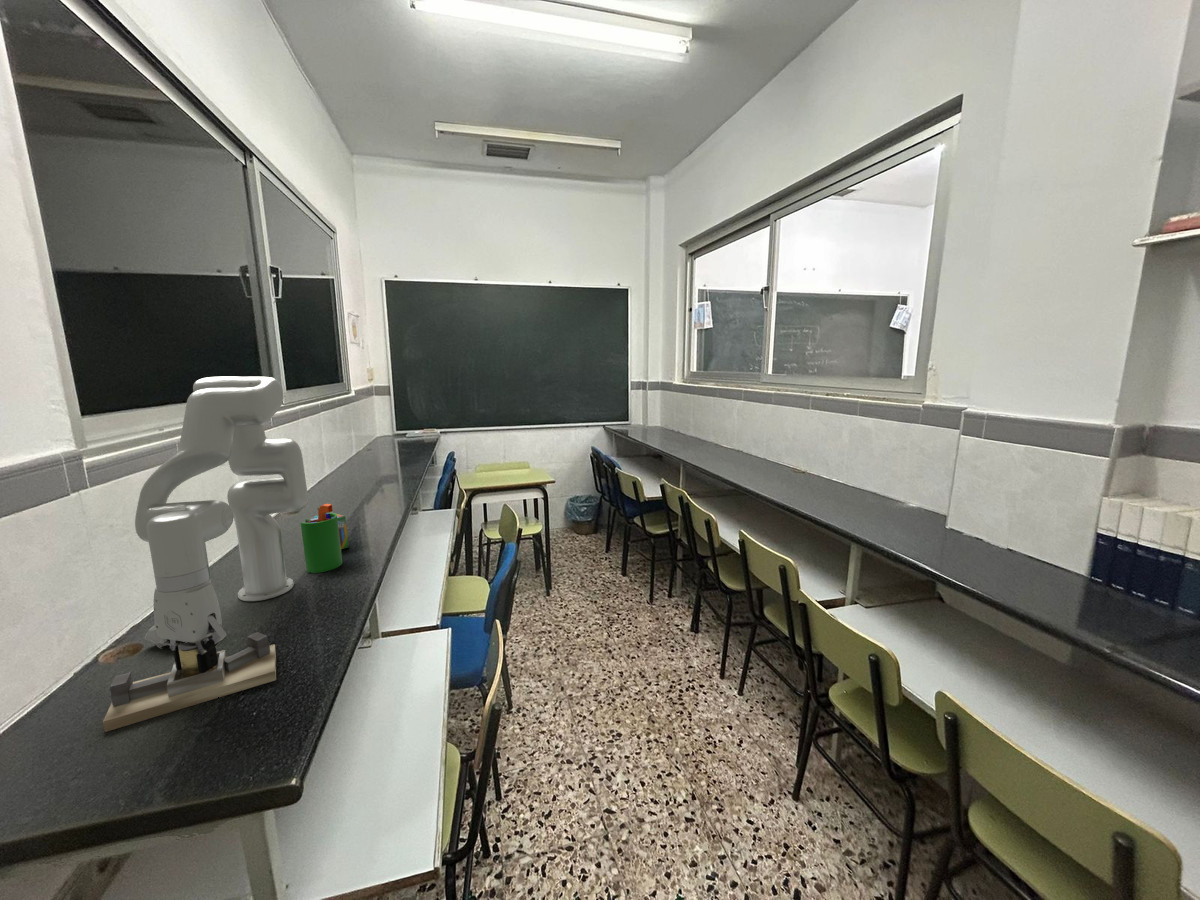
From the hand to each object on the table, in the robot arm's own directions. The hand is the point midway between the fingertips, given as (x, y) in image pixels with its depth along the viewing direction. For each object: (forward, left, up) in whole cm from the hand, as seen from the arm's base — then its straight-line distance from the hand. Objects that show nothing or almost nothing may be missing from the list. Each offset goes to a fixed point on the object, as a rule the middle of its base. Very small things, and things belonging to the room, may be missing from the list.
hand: (197, 666), depth 90 cm
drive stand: (0, 0, -5) cm, 5 cm away
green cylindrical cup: (-51, +25, -5) cm, 57 cm away
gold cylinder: (0, 0, -2) cm, 2 cm away
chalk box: (-66, +27, -5) cm, 72 cm away
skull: (-22, -5, -5) cm, 23 cm away
